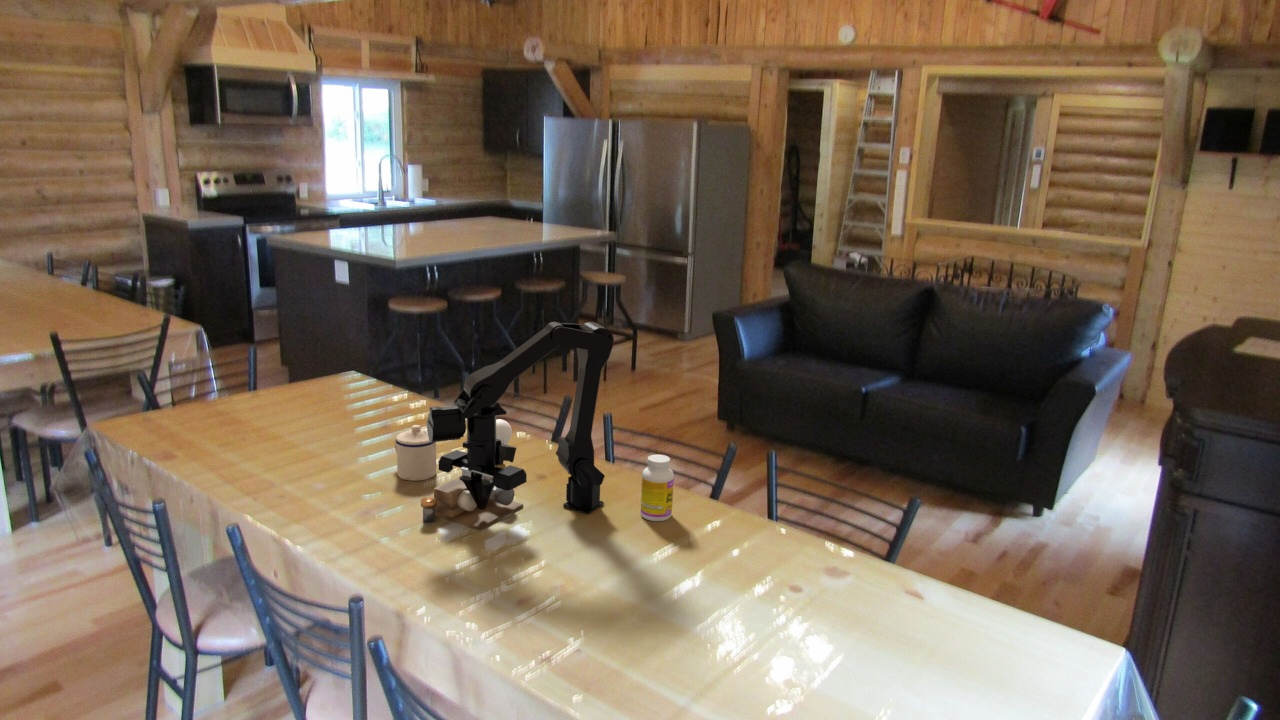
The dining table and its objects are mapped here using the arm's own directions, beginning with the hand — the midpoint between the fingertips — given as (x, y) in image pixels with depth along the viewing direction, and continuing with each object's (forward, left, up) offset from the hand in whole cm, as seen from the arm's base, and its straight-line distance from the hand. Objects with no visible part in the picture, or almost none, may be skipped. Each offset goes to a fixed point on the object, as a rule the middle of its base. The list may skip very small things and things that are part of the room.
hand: (482, 509), depth 176 cm
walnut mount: (+4, -3, -3) cm, 6 cm away
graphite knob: (+3, -6, -1) cm, 7 cm away
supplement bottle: (-27, -23, -3) cm, 36 cm away
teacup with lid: (+30, -10, -3) cm, 31 cm away
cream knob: (+7, 0, -1) cm, 7 cm away
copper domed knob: (+9, +6, -3) cm, 11 cm away
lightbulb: (+18, -26, -3) cm, 32 cm away
